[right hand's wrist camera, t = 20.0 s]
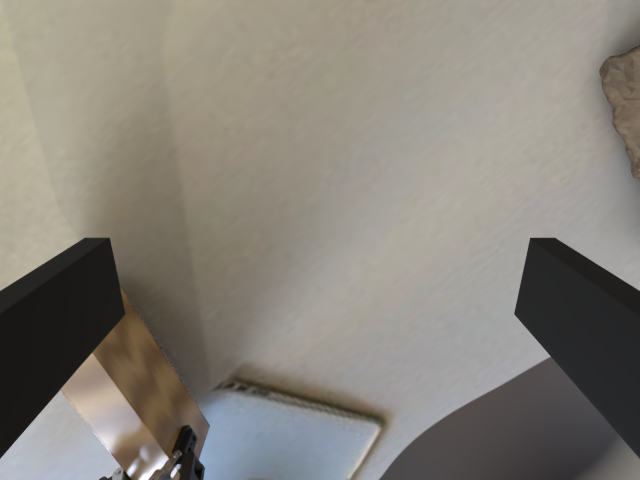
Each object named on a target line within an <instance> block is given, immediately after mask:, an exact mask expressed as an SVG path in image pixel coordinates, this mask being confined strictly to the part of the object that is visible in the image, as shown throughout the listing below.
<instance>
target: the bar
mask: <svg viewBox="0 0 640 480" xmlns="http://www.w3.org/2000/svg"><path fill="white" fill-rule="evenodd" d="M120 289H121V287H120ZM121 294H122V299H123V304H124V308H125V313H126V314H125V316H124V317H123V318H122V319H121V320H120V321H119V322H118V324H117V325H116V326H115V327H114V328H113V329H112V330H111V332H110V333H109V334H108V335H107V336H106V337H105V339H104V340H103V341H102V342H101V343H100V344H99V345H98V347H97V348H96V349H95V350H94V351H93V352H92V354H91V355H90V356H89V357H88V358H87V359H86V360H85V362H84V363H83V364H82V365H81V366H80V367H79V368H78V370H77V371H76V372H75V373H74V374H73V375H72V377H71V378H70V379H69V380H68V381H67V382H66V383H65V385H64V386H63V387H62V388H61V389H60V391H61V392H62V393H63V394H64V396H65V397H66V398H67V399H68V401H69V402H70V403H71V404H72V406H73V407H74V408H75V409H76V411H77V412H78V413H79V414H80V416H81V417H82V418H83V419H84V421H85V422H86V423H87V424H88V426H89V427H90V428H91V429H92V431H93V432H94V433H95V434H96V436H97V437H98V438H99V439H100V441H101V442H102V443H103V445H104V446H105V447H106V448H107V450H108V451H109V452H110V453H111V455H112V456H113V457H114V458H115V460H116V461H117V462H118V463H119V465H120V466H121V467H122V468H123V470H124V471H125V472H126V473H127V475H128V476H129V477H130V478H131V480H148V479H149V478H150V476H151V475H152V474H153V472H154V471H155V470H156V469H161V468H162V467H163V466H164V464H165V463H166V462H167V460H168V459H169V458H170V456H171V455H172V454H173V453H172V450H173V447H174V445H175V443H176V440H177V438H178V435H179V433H180V431H181V428H182V427H183V426H185V425H190V427H191V428H192V429H193V431H194V432H195V434H196V435H197V437H198V441H197V443H196V446H195V449H194V453H195V454H196V457H197V458H198V460H199V457H200V454H201V451H202V448H203V445H204V442H205V439H206V436H207V433H208V430H209V427H210V425H209V423H208V422H207V420H206V419H205V417H204V416H203V414H202V412H201V411H200V409H199V408H198V406H197V405H196V403H195V402H194V400H193V399H192V397H191V395H190V394H189V392H188V391H187V389H186V388H185V386H184V385H183V383H182V382H181V380H180V378H179V377H178V375H177V374H176V372H175V371H174V369H173V368H172V366H171V365H170V363H169V361H168V360H167V358H166V357H165V355H164V354H163V352H162V351H161V349H160V347H159V346H158V344H157V343H156V341H155V340H154V338H153V337H152V335H151V334H150V332H149V330H148V329H147V327H146V326H145V324H144V323H143V321H142V320H141V318H140V317H139V315H138V313H137V312H136V310H135V309H134V307H133V306H132V304H131V303H130V301H129V299H128V298H127V296H126V295H125V293H124V292H123V290H122V289H121ZM177 471H178V470H177V469H176V467H175V468H174V470H173V471H172V473H171V477H172V478H173V477H174V475H175V474H176V473H177Z"/></svg>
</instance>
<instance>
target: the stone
mask: <svg viewBox="0 0 640 480" xmlns="http://www.w3.org/2000/svg"><path fill="white" fill-rule="evenodd" d="M600 75H601V77H602V87H603V90H604V93H605V95H606V97H607V99H608V101H609V103H610V104H611V105H612V107H613V116H614V119H613V123H612V124H613V126H614V128H615V129H616V131H617V132H618V133H619V134H620V135H621V136H622V137H623V139H624V141H625V143H626V153H627V154H628V156H629V158H630V161H631V173H632V175H633V177H634V178H639V179H640V46H637V47H635V48H633V49H631V50H629V51H628V52H627V53H625V54H622V55H619V56H611V57H609V58H608V59H607V60H605V61H604V63H603V65H602V67H601V68H600Z"/></svg>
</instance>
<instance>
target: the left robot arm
mask: <svg viewBox="0 0 640 480" xmlns="http://www.w3.org/2000/svg"><path fill="white" fill-rule="evenodd" d="M197 441H198V437H197V435H196V434H195V432H194V431H193V429H192V428H191V427H190V425H185V426H183V427H182V428H181V431H180V433H179V435H178V438H177V440H176V443H175V445H174V447H173V450H172V453H173V454H172V455H171V456H170V458H169V459H168V460H167V462H166V463H165V464H164V466H163V467H162V468H161V469H156V470H155V471H154V472H153V474H152V475H151V476H150V478H149V479H148V480H203V478H204V470H205V468H204V466H203V465H202V464H201V463H200V461H199V460H198V458H197V457H196V454H195V453H194V449H195V446H196V443H197ZM175 467H176V469H177V470H178V471H177V473H176V474H175V475H174V477H173V478H172V477H171V473H172V471H173V470H174V468H175ZM99 480H131V478H130V477H129V476H128V475H127V473H126V472H125V471H124V470H123V468H122V467H120V468H118V469H117V470H116V471H115V472H114V473H113V476H112V477H110V478H108V479H107V478H106V477H102V478H100V479H99Z"/></svg>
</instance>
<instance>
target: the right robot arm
mask: <svg viewBox="0 0 640 480" xmlns="http://www.w3.org/2000/svg"><path fill="white" fill-rule="evenodd" d="M125 314H126V313H125V308H124V304H123V299H122V294H121V289H120V285H119V280H118V275H117V270H116V266H115V261H114V256H113V251H112V247H111V242H110V238H84V239H82V240H81V241H79V242H78V243H76V244H74V245H73V246H71V247H70V248H68V249H67V250H65V251H63V252H62V253H60V254H59V255H57V256H55V257H54V258H52V259H51V260H49V261H47V262H46V263H44V264H43V265H41V266H39V267H38V268H36V269H35V270H33V271H31V272H30V273H28V274H27V275H25V276H24V277H22V278H20V279H19V280H17V281H16V282H14V283H12V284H11V285H9V286H8V287H6V288H4V289H3V290H1V291H0V458H1V457H2V456H3V455H4V454H5V453H6V451H7V450H8V449H9V448H10V447H11V446H12V444H13V443H14V442H15V441H16V440H17V439H18V438H19V436H20V435H21V434H22V433H23V432H24V431H25V429H26V428H27V427H28V426H29V425H30V424H31V423H32V421H33V420H34V419H35V418H36V417H37V416H38V415H39V413H40V412H41V411H42V410H43V409H44V408H45V406H46V405H47V404H48V403H49V402H50V401H51V400H52V398H53V397H54V396H55V395H56V394H57V393H58V392H59V390H60V389H61V388H62V387H63V386H64V385H65V383H66V382H67V381H68V380H69V379H70V378H71V377H72V375H73V374H74V373H75V372H76V371H77V370H78V368H79V367H80V366H81V365H82V364H83V363H84V362H85V360H86V359H87V358H88V357H89V356H90V355H91V354H92V352H93V351H94V350H95V349H96V348H97V347H98V345H99V344H100V343H101V342H102V341H103V340H104V339H105V337H106V336H107V335H108V334H109V333H110V332H111V330H112V329H113V328H114V327H115V326H116V325H117V324H118V322H119V321H120V320H121V319H122V318H123V317H124V316H125ZM514 314H515V316H516V317H517V318H518V319H519V320H520V321H521V322H522V324H523V325H524V326H525V327H526V328H527V329H528V330H529V332H530V333H531V334H532V335H533V336H534V337H535V339H536V340H537V341H538V342H539V343H540V344H541V345H542V347H543V348H544V349H545V350H546V351H547V352H548V354H549V355H550V356H551V357H552V358H553V359H554V360H555V362H556V363H557V364H558V365H559V366H560V367H561V368H562V370H563V371H564V372H565V373H566V374H567V375H568V377H569V378H570V379H571V380H572V381H573V382H574V383H575V385H576V386H577V387H578V388H579V389H580V390H581V392H582V393H583V394H584V395H585V396H586V397H587V398H588V400H589V401H590V402H591V403H592V404H593V405H594V406H595V408H596V409H597V410H598V411H599V412H600V413H601V415H602V416H603V417H604V418H605V419H606V420H607V421H608V423H609V424H610V425H611V426H612V427H613V428H614V429H615V431H616V432H617V433H618V434H619V435H620V436H621V438H622V439H623V440H624V441H625V442H626V443H627V444H628V446H629V447H630V448H631V449H632V450H633V451H634V453H635V454H636V455H637V456H638V457H639V458H640V291H639V290H637V289H636V288H634V287H632V286H631V285H629V284H628V283H626V282H624V281H623V280H621V279H620V278H618V277H616V276H615V275H613V274H612V273H610V272H609V271H607V270H605V269H604V268H602V267H601V266H599V265H597V264H596V263H594V262H593V261H591V260H589V259H588V258H586V257H585V256H583V255H581V254H580V253H578V252H577V251H575V250H573V249H572V248H570V247H569V246H567V245H566V244H564V243H562V242H561V241H559V240H558V239H556V238H530V242H529V247H528V251H527V256H526V261H525V266H524V270H523V275H522V280H521V285H520V289H519V294H518V299H517V304H516V308H515V313H514Z"/></svg>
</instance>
